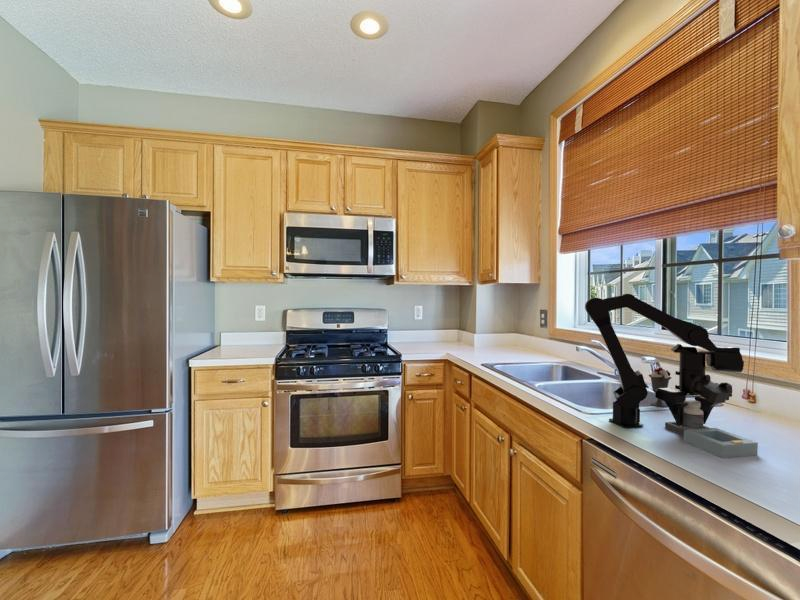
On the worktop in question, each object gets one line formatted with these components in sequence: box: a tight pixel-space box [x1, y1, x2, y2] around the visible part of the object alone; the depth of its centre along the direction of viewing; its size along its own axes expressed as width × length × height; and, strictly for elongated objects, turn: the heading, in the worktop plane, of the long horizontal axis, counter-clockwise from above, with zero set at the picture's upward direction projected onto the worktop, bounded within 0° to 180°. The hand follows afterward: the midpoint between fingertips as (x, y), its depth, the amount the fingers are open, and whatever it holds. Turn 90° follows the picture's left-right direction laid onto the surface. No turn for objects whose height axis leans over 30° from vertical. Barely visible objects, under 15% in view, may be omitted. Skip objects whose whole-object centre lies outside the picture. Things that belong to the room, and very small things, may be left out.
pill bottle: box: [679, 398, 704, 430], centre depth 103 cm, size 5×5×9 cm
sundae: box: [648, 362, 673, 408], centre depth 128 cm, size 7×7×15 cm
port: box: [683, 427, 759, 459], centre depth 93 cm, size 10×10×3 cm
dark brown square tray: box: [664, 421, 710, 436], centre depth 103 cm, size 8×8×2 cm
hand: (691, 424), depth 103 cm, fingers open, 7 cm apart
